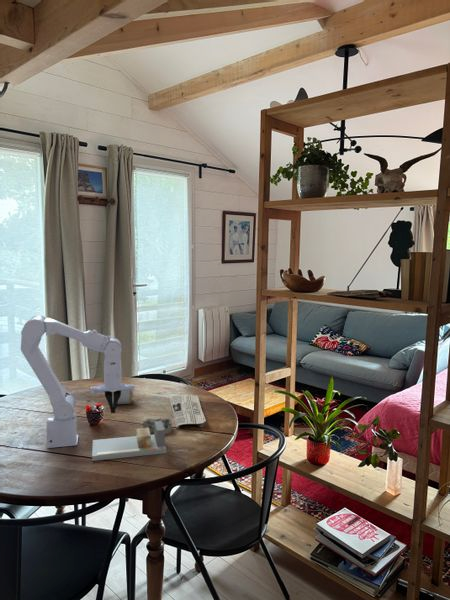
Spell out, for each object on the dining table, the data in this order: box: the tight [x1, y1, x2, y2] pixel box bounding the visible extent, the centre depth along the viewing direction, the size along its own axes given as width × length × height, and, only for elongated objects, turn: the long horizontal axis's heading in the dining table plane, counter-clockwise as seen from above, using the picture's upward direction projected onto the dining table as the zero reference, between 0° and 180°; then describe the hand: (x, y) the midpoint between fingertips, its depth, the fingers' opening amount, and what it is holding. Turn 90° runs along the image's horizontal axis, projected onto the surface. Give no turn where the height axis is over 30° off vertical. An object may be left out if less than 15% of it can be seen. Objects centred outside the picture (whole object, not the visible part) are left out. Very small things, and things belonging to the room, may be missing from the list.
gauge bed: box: [91, 421, 167, 462], centre depth 144 cm, size 23×12×7 cm, turn 106°
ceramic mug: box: [112, 391, 134, 405], centre depth 189 cm, size 11×8×8 cm
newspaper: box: [169, 393, 207, 430], centre depth 178 cm, size 35×12×4 cm, turn 11°
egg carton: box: [141, 417, 173, 435], centre depth 160 cm, size 11×8×4 cm
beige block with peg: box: [136, 427, 152, 448], centre depth 145 cm, size 4×9×4 cm, turn 16°
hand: (113, 412), depth 152 cm, fingers closed
